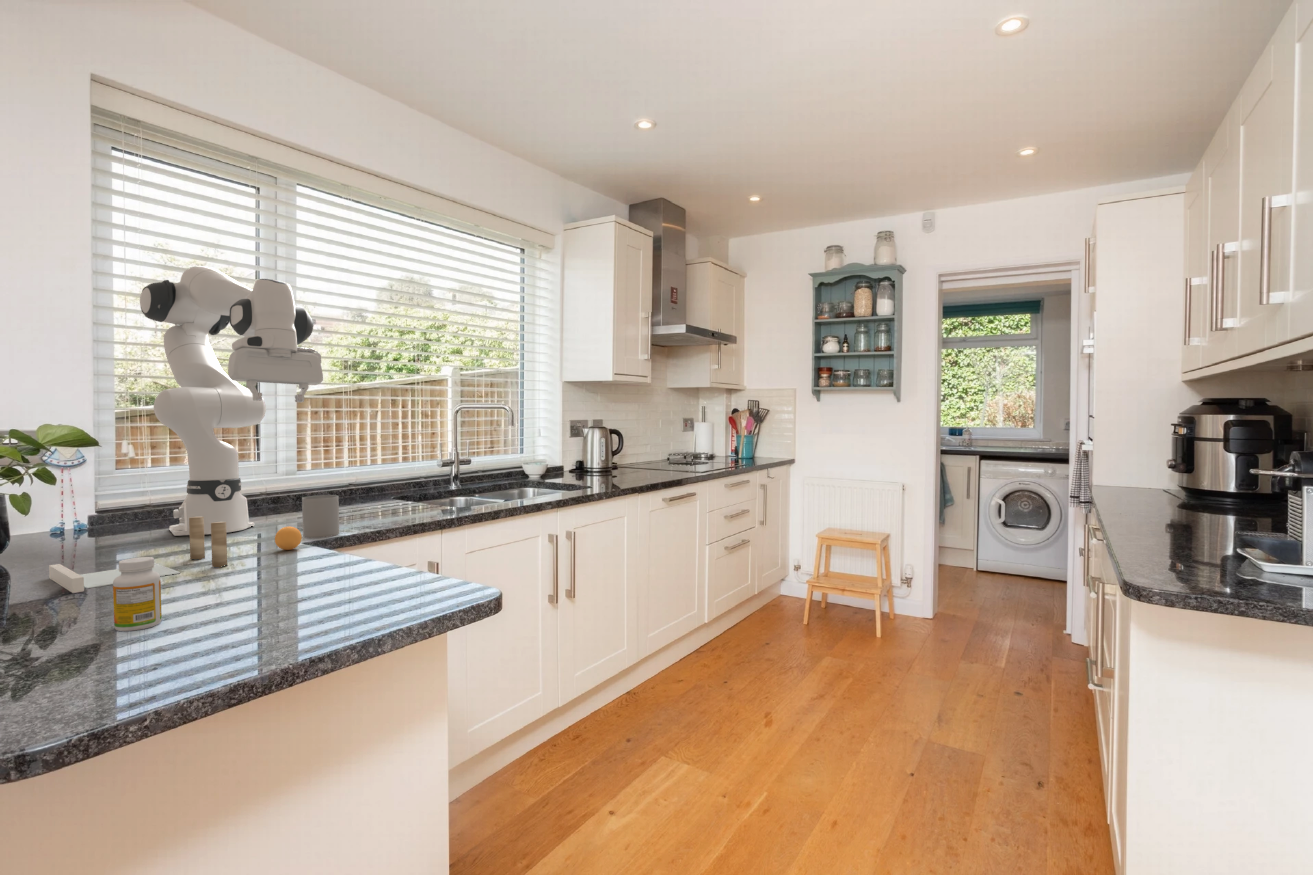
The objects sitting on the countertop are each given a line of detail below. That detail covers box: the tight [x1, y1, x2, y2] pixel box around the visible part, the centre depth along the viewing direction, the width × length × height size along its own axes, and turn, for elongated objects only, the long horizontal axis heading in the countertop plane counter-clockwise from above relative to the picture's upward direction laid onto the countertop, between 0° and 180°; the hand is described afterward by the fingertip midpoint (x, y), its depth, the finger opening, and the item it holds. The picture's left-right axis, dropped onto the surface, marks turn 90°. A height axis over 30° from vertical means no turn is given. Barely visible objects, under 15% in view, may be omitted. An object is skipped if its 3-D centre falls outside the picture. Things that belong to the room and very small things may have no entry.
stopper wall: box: [48, 563, 85, 594], centre depth 118 cm, size 18×2×2 cm, turn 53°
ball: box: [274, 525, 303, 551], centre depth 149 cm, size 5×5×5 cm
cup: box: [301, 494, 340, 539], centre depth 168 cm, size 8×8×10 cm
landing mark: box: [80, 562, 181, 589], centre depth 125 cm, size 14×14×1 cm
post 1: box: [189, 517, 206, 560], centre depth 140 cm, size 3×3×9 cm
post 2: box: [210, 522, 228, 568], centre depth 132 cm, size 3×3×9 cm
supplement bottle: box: [112, 556, 163, 632], centre depth 93 cm, size 5×5×10 cm
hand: (279, 401), depth 155 cm, fingers open, 8 cm apart
